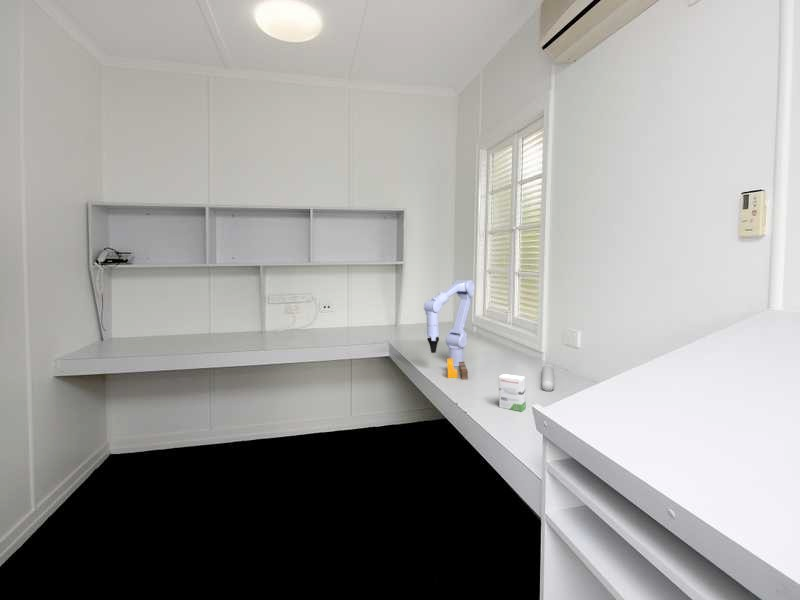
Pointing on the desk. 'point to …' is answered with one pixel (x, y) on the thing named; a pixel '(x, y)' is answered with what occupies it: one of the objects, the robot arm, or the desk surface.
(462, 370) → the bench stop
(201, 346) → the desk surface
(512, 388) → the ink box
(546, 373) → the tube
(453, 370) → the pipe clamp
